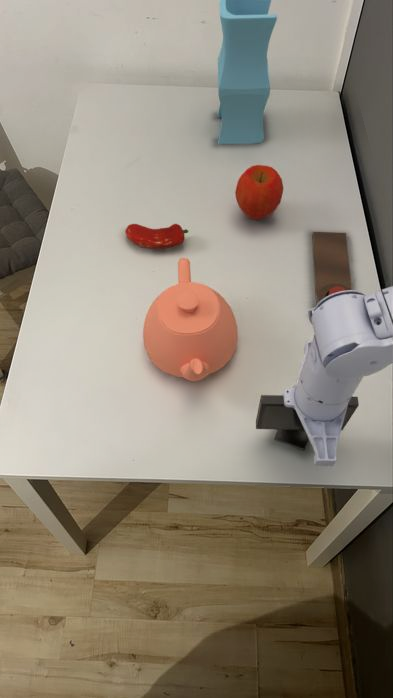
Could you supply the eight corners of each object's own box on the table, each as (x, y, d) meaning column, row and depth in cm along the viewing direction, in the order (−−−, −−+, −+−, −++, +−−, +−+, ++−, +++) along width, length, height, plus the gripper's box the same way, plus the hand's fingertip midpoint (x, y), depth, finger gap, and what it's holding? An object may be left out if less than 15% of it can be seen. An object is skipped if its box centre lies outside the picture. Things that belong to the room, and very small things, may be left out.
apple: (243, 238, 93) (246, 194, 84) (227, 207, 97) (228, 162, 88) (285, 226, 94) (294, 181, 85) (268, 196, 98) (274, 150, 89)
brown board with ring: (353, 322, 83) (357, 314, 81) (316, 321, 84) (319, 312, 81) (345, 235, 93) (348, 226, 90) (311, 234, 93) (314, 225, 91)
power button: (347, 308, 82) (349, 302, 81) (327, 307, 82) (329, 301, 81) (345, 292, 84) (347, 286, 82) (326, 291, 84) (328, 285, 83)
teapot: (247, 403, 77) (253, 366, 66) (149, 414, 76) (139, 378, 66) (227, 288, 87) (230, 240, 77) (142, 297, 87) (132, 250, 76)
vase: (264, 143, 106) (277, 17, 84) (217, 144, 106) (219, 18, 84) (261, 113, 111) (274, -13, 89) (217, 114, 111) (218, -12, 89)
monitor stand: (304, 451, 73) (312, 435, 67) (274, 439, 74) (279, 423, 68) (313, 423, 75) (321, 406, 69) (283, 412, 76) (289, 394, 70)
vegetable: (187, 215, 91) (124, 220, 93) (184, 228, 87) (118, 234, 89) (191, 238, 94) (129, 242, 96) (188, 251, 90) (124, 256, 92)
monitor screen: (342, 431, 69) (359, 405, 62) (255, 429, 70) (261, 404, 62) (341, 422, 70) (357, 396, 62) (255, 421, 70) (261, 394, 63)
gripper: (285, 320, 56) (272, 375, 67) (294, 446, 48) (278, 482, 60) (349, 321, 55) (325, 375, 67) (368, 447, 48) (337, 483, 60)
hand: (306, 426), depth 64 cm, fingers closed
